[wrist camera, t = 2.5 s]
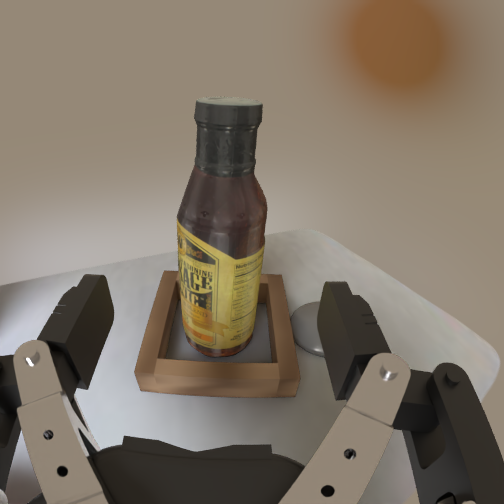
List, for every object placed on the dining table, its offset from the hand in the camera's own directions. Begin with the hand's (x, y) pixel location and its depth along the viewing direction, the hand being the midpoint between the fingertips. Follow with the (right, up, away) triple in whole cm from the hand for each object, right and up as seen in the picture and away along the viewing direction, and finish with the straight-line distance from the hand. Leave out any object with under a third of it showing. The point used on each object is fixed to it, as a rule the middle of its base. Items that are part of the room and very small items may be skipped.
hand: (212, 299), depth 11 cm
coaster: (+8, -6, +18) cm, 21 cm away
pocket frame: (-1, -6, +17) cm, 18 cm away
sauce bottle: (-2, -6, +17) cm, 18 cm away
